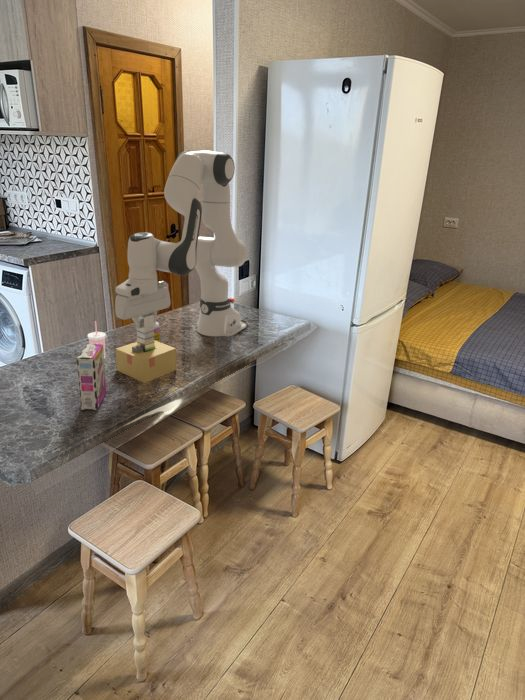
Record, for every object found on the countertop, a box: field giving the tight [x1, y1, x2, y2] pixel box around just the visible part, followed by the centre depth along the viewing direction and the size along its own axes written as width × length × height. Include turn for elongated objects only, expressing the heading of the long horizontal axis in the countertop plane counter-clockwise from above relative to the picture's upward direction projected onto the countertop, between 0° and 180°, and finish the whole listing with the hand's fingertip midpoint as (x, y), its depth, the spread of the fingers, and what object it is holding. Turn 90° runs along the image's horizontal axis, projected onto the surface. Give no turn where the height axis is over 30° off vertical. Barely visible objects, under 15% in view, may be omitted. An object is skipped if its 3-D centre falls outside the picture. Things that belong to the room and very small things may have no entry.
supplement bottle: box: [154, 317, 161, 343], centre depth 181 cm, size 7×7×13 cm
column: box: [135, 313, 155, 352], centre depth 161 cm, size 4×4×16 cm
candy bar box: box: [76, 343, 107, 411], centre depth 140 cm, size 11×5×16 cm, turn 4°
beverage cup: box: [87, 320, 107, 360], centre depth 170 cm, size 6×6×14 cm
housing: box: [115, 340, 177, 384], centre depth 164 cm, size 14×14×10 cm
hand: (145, 326), depth 160 cm, fingers open, 4 cm apart
